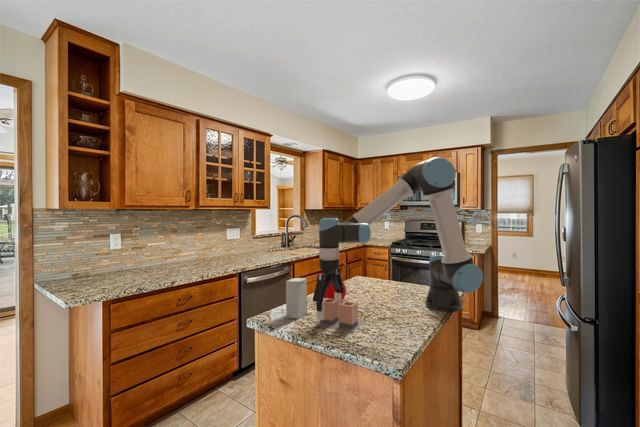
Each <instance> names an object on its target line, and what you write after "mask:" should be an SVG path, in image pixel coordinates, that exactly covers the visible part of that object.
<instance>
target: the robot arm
mask: <svg viewBox="0 0 640 427" xmlns="http://www.w3.org/2000/svg"><path fill="white" fill-rule="evenodd" d="M455 178H456V169H455V166H454V165H453V163H452V162H451V161H450V160H449V159H447V158H445V157H440V156H439V157H438V156H437V157H431V158H429V159H426V160H424V161H421V162H418V163H416V164H414V165H413V166H412V167H411V168H410V169H408V170H407V171H406V172H405V173H404V174H403V175H402V176H400V177H399V178H398V179H397V182H396V183H395V184H393V185H392V186H391V187H389V188H388V189H386V190H385V191H384V192H383V193H381V194H380V195H379V196H378V197H376V198H375V199H373V200H372V201H370V202H369V203H368V204H367V205H366V206H364V207H363V208H362V209H360V210H359V211H357V212H356V213H355V214H353V215H352V216H351V217H349V218H348V219H347V220H346V221H343V222H341V223H340V221H339V220H340V219H338V217H336V218H335V217H333V218H332V217H330V218H329V217H328V218H326V217H324V218H321V219H320V220H319V222H318V223H319V225H318V226H319V229H318V244H319V249H318V252H319V258H320V259H319V260H318V261H319V264H318V265H319V269H320V270H321V271H322V273H317V276H316V278H317V279H316V284H315V288H314V291H313V297H312V301H313V302H315V303H316V320H318V321H319V320H324V302H323V300H324V299H325V298H324V296H325V293H326V291H327V288H328V286H329V285H330V284H331V283H332V285H333V287H334V289H335V291H336V292H335V293H334V298H335V299H336V300H339V304H341V303H342V300H341V293H344V285H343V282H344V281H343V279H342V274H341V268H340V259H339V258H340V243H341V244H344V243H347V244H351V243H353V244H355V243H360V244H362V243H368V242H369V241H370V240H371V233H372V232H371V225H372V224H373V223H375V222H376V221H378V220H379V219H380V218H382V217H383V216H384V215H385V214H387V213H388V212H389V211H390V210H392V209H393V208H395V207H396V206H397V205H398V204H400V203H401V202H403V201H404V200H406V199H407V198H408V197H410V198H411V197H414V195H415V194H417V193H420V192H422V195H423V197H424V198H426V199H427V200H428V202H429V206H430V210H431V214H432V217H433V221H434V225H435V228H436V231H437V236H438V239H439V243H440V246H441V251H442V253H443V254H432V255H430V257H429V263H428V265H429V266H428V267H429V268H428V269H429V288H428V292H427V295H426V297H425V306H426V307H427V308H429V309H432V310H434V311H440V312H458V311H462V309H463V302H462V298H461V296H460V293H462V294H471V293H473V292H475V291H477V290H478V289H479V288H480V286H481V285H482V283H483V281H484V275H483V274H484V273H483V271H482V269H481V268H480V267H479V266H478V265H476V264H475V263H474V262H475V261H474V259H473V255H472V254H471V253H470V252H468V251H467V249H466V244H465V241H464V238H463V234H462V230H461V226H460V222H459V219H458V214H457V211H456V207H455V203H454V200H453V197H452V196H453V195H452V192H453V191H454V189H455V186H454V183H453V182H454V181H455ZM340 286H341V287H340ZM459 292H460V293H459Z"/></svg>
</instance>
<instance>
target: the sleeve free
mask: <svg viewBox="0 0 640 427" xmlns="http://www.w3.org/2000/svg"><path fill="white" fill-rule="evenodd" d="M323 302H324V320H320V322H321V323H325V324H330V325H333V324H334V323H336V322H337V321H339V300H336V299H330V298H326V299H325V298H324V299H323Z"/></svg>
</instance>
